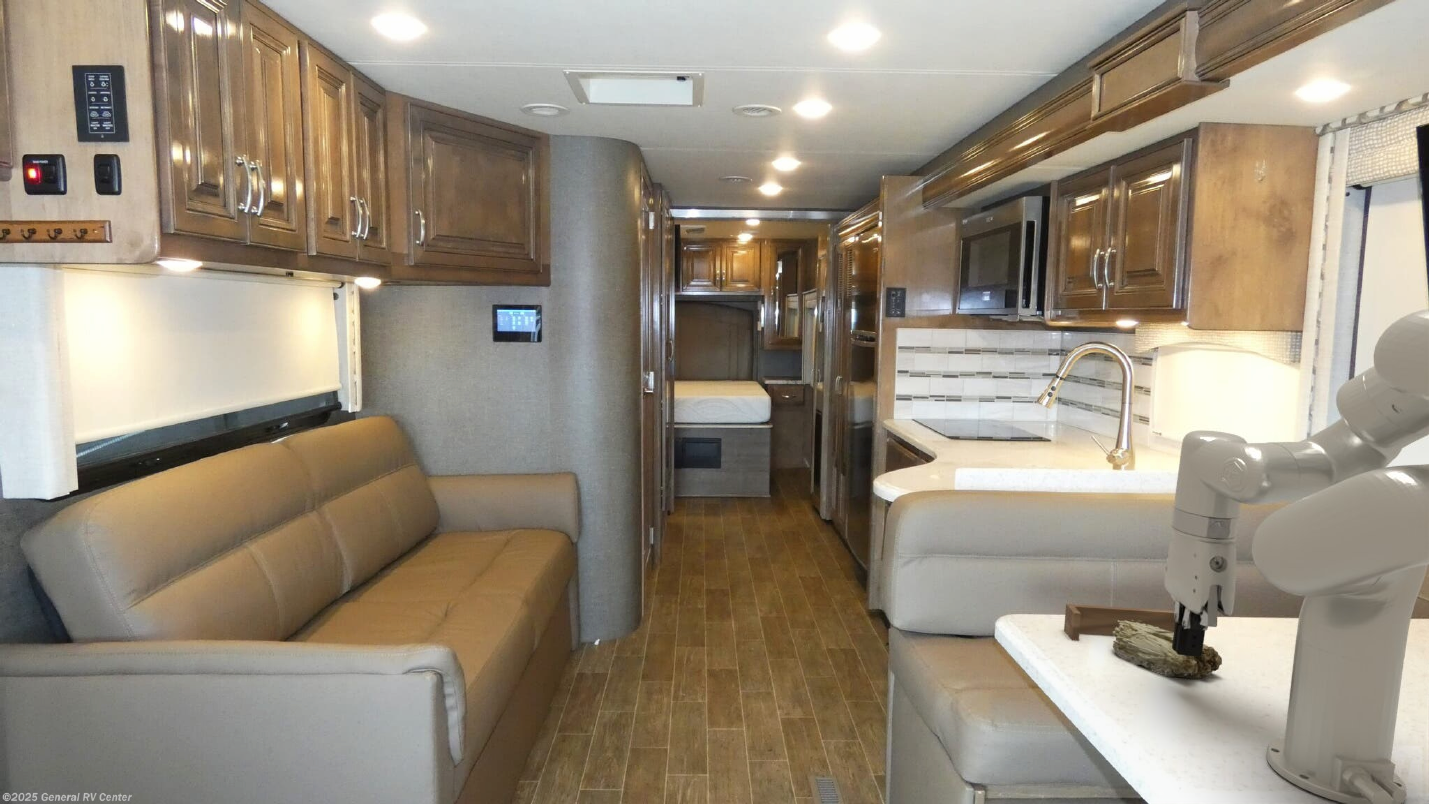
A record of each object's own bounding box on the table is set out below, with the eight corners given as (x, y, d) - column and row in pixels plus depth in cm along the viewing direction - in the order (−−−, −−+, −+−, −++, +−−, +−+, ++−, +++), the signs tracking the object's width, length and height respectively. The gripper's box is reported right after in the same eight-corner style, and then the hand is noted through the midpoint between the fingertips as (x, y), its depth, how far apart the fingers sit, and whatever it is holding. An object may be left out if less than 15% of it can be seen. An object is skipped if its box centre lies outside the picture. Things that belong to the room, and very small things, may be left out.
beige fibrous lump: (1227, 677, 118) (1231, 641, 117) (1190, 691, 113) (1194, 654, 113) (1133, 640, 130) (1136, 608, 130) (1096, 652, 126) (1099, 618, 125)
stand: (1197, 648, 127) (1199, 620, 127) (1072, 640, 129) (1074, 612, 129) (1185, 638, 131) (1187, 611, 131) (1064, 630, 133) (1066, 604, 133)
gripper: (1265, 543, 100) (1244, 682, 103) (1206, 510, 115) (1189, 632, 118) (1201, 539, 101) (1183, 677, 104) (1150, 506, 116) (1135, 627, 118)
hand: (1186, 652), depth 111 cm, fingers closed
